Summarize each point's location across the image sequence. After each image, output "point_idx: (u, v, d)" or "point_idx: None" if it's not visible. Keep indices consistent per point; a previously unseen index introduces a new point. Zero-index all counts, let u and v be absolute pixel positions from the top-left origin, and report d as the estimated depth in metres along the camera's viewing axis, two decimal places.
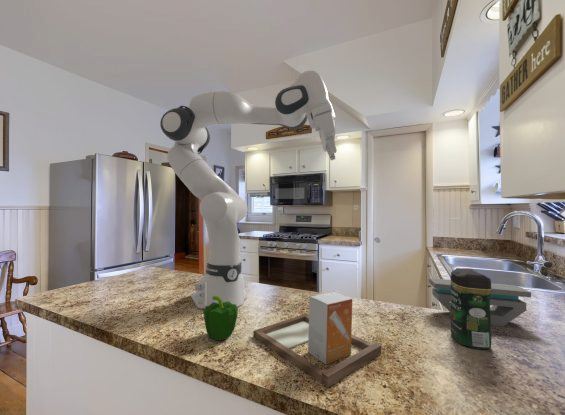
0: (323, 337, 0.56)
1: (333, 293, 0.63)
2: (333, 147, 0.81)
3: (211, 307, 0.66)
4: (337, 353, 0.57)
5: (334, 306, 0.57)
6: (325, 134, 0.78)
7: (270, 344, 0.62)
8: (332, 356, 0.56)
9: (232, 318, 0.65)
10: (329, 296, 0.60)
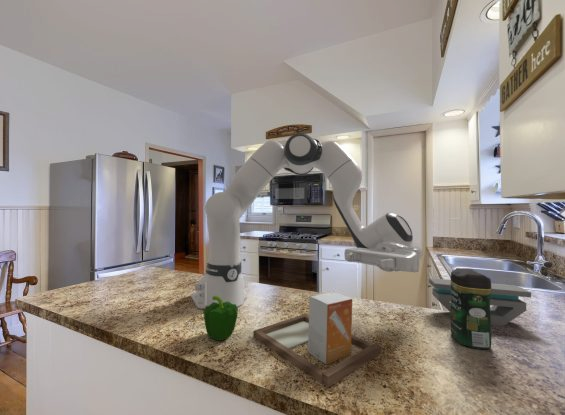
0: (323, 337, 0.56)
1: (333, 293, 0.63)
2: (385, 264, 0.65)
3: (211, 307, 0.66)
4: (337, 353, 0.57)
5: (334, 306, 0.57)
6: (408, 259, 0.65)
7: (270, 344, 0.62)
8: (332, 356, 0.56)
9: (232, 318, 0.65)
10: (329, 296, 0.60)
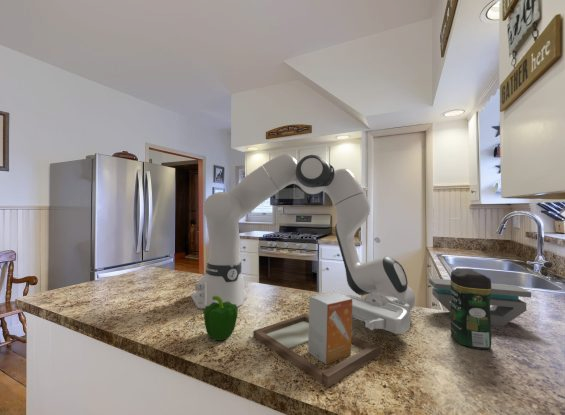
0: (323, 337, 0.56)
1: (333, 293, 0.63)
2: (374, 325, 0.62)
3: (211, 307, 0.66)
4: (337, 353, 0.57)
5: (334, 306, 0.57)
6: (397, 321, 0.61)
7: (270, 344, 0.62)
8: (332, 356, 0.56)
9: (232, 318, 0.65)
10: (329, 296, 0.60)
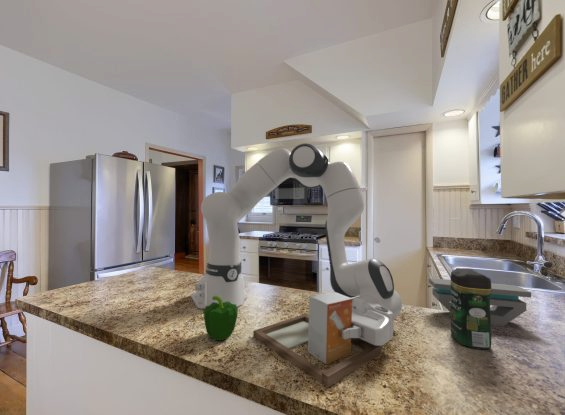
0: (323, 336, 0.56)
1: (333, 293, 0.63)
2: (348, 335, 0.57)
3: (211, 307, 0.66)
4: (337, 353, 0.57)
5: (334, 305, 0.57)
6: (377, 331, 0.55)
7: (270, 344, 0.62)
8: (332, 356, 0.56)
9: (232, 318, 0.65)
10: (329, 296, 0.60)
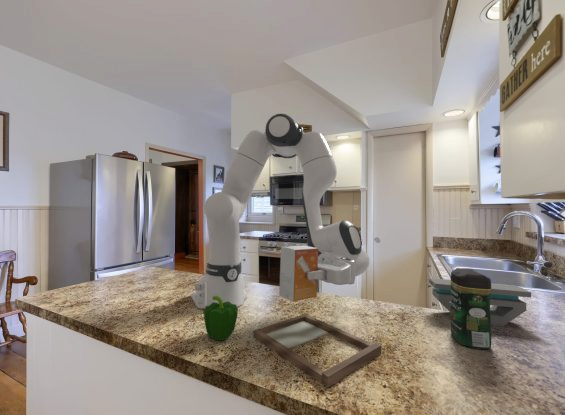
0: (291, 278, 0.64)
1: (302, 246, 0.71)
2: (313, 276, 0.65)
3: (211, 307, 0.66)
4: (303, 293, 0.65)
5: (301, 252, 0.65)
6: (337, 272, 0.64)
7: (270, 344, 0.62)
8: (299, 295, 0.65)
9: (232, 318, 0.65)
10: (298, 247, 0.69)
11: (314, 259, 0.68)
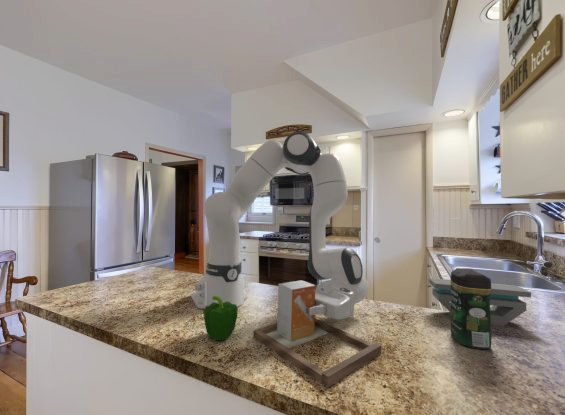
0: (288, 317, 0.65)
1: (300, 281, 0.72)
2: (314, 311, 0.65)
3: (211, 307, 0.66)
4: (301, 332, 0.66)
5: (299, 291, 0.65)
6: (336, 307, 0.64)
7: (270, 344, 0.62)
8: (297, 334, 0.65)
9: (232, 318, 0.65)
10: (295, 283, 0.69)
11: (311, 296, 0.68)
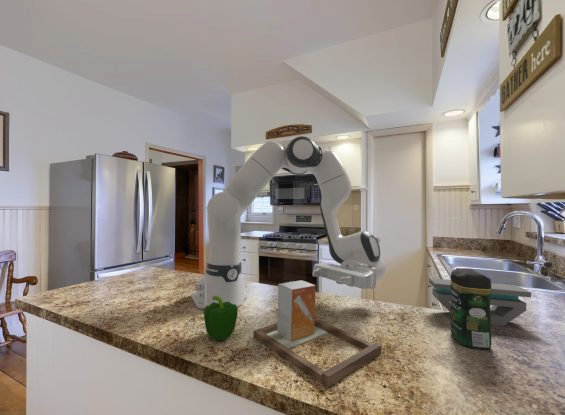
0: (288, 317, 0.65)
1: (300, 281, 0.72)
2: (343, 281, 0.74)
3: (211, 307, 0.66)
4: (301, 332, 0.66)
5: (299, 291, 0.65)
6: (363, 278, 0.74)
7: (270, 344, 0.62)
8: (297, 334, 0.65)
9: (232, 318, 0.65)
10: (295, 283, 0.69)
11: (311, 296, 0.68)
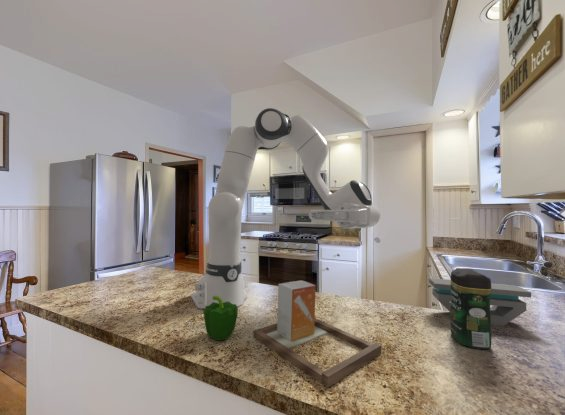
0: (288, 317, 0.65)
1: (300, 281, 0.72)
2: (338, 216, 0.77)
3: (211, 307, 0.66)
4: (301, 332, 0.66)
5: (299, 291, 0.65)
6: (357, 211, 0.76)
7: (270, 344, 0.62)
8: (297, 334, 0.65)
9: (232, 318, 0.65)
10: (295, 283, 0.69)
11: (311, 296, 0.68)
